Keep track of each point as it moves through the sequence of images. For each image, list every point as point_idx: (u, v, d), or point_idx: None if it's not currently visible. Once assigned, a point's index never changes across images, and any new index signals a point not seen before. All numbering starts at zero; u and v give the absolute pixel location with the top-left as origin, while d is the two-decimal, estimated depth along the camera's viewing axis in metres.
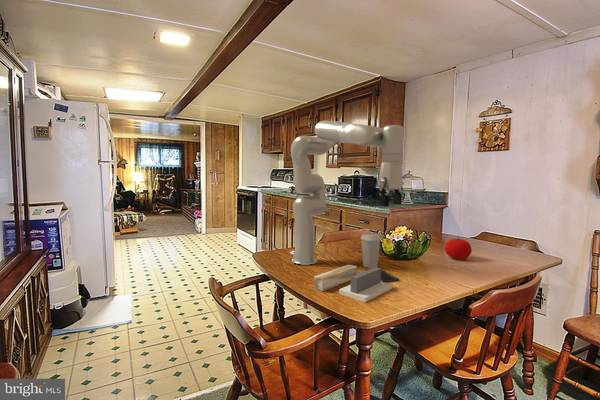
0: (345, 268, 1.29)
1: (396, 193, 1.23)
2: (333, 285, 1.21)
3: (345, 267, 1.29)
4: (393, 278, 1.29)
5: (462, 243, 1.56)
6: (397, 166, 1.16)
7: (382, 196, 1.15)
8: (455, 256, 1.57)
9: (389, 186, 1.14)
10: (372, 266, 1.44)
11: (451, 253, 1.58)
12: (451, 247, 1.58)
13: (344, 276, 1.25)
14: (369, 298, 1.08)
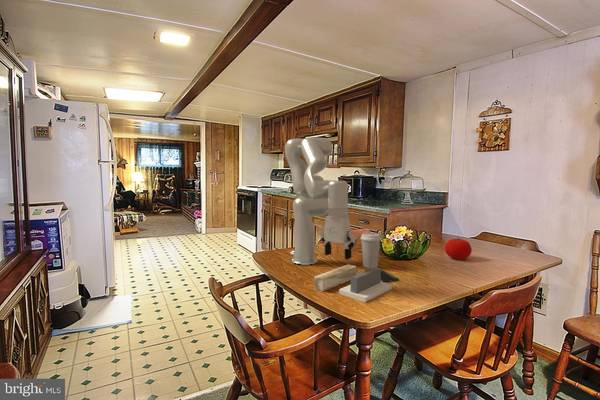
0: (344, 268, 1.29)
1: (328, 244, 1.26)
2: (333, 285, 1.21)
3: (345, 267, 1.29)
4: (393, 278, 1.29)
5: (462, 243, 1.56)
6: None
7: (349, 249, 1.19)
8: (455, 256, 1.57)
9: (350, 239, 1.21)
10: (372, 266, 1.44)
11: (451, 253, 1.58)
12: (451, 247, 1.58)
13: (344, 276, 1.25)
14: (369, 298, 1.08)
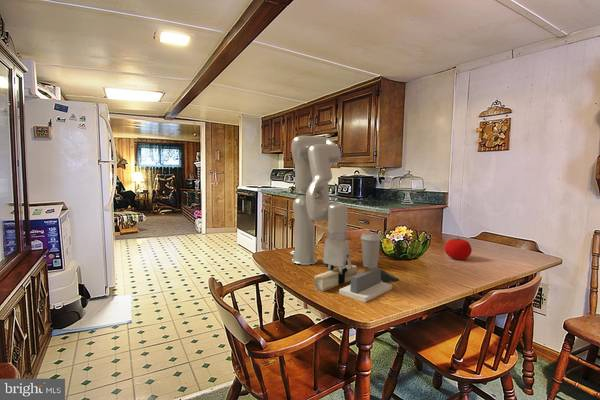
0: None
1: (332, 269, 1.26)
2: (333, 285, 1.20)
3: None
4: (393, 278, 1.29)
5: (462, 243, 1.56)
6: None
7: (343, 275, 1.22)
8: (455, 256, 1.57)
9: None
10: (372, 266, 1.44)
11: (451, 253, 1.58)
12: (451, 247, 1.58)
13: None
14: (369, 298, 1.08)
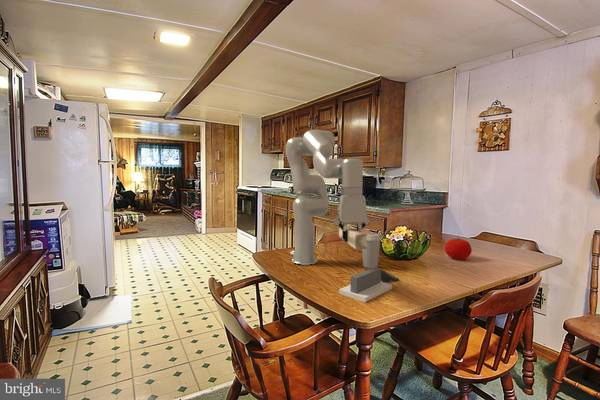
0: (347, 226, 1.25)
1: (346, 228, 1.18)
2: None
3: None
4: (393, 278, 1.29)
5: (462, 243, 1.56)
6: None
7: None
8: (455, 256, 1.57)
9: None
10: (372, 266, 1.44)
11: (451, 253, 1.58)
12: (451, 247, 1.58)
13: None
14: (369, 298, 1.08)
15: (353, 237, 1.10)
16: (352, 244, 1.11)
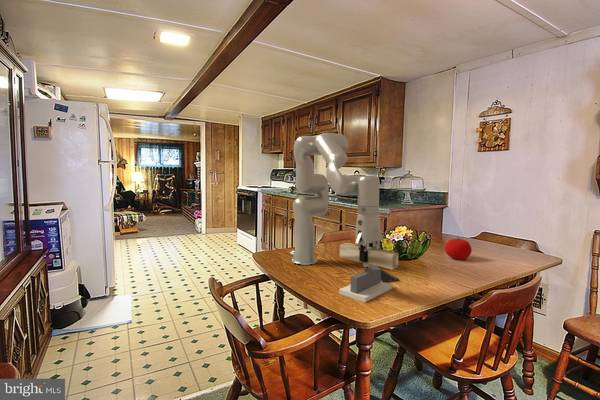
0: (354, 245, 1.19)
1: None
2: None
3: (353, 245, 1.19)
4: (393, 278, 1.29)
5: (462, 243, 1.56)
6: None
7: None
8: (455, 256, 1.57)
9: None
10: (372, 266, 1.44)
11: (451, 253, 1.58)
12: (451, 247, 1.58)
13: None
14: (369, 298, 1.08)
15: (386, 258, 1.08)
16: (383, 264, 1.09)
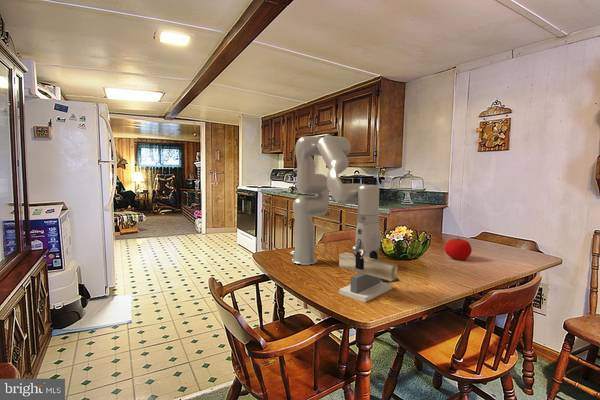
0: (353, 255, 1.20)
1: None
2: None
3: (352, 255, 1.20)
4: None
5: (462, 243, 1.56)
6: None
7: None
8: (455, 256, 1.57)
9: None
10: None
11: (451, 253, 1.58)
12: (451, 247, 1.58)
13: None
14: (369, 298, 1.08)
15: (385, 269, 1.08)
16: (382, 276, 1.09)
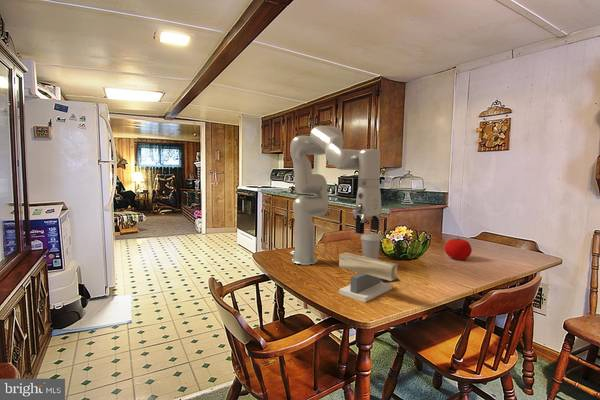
0: (353, 255, 1.20)
1: None
2: None
3: (352, 255, 1.20)
4: None
5: (462, 243, 1.56)
6: None
7: None
8: (455, 256, 1.57)
9: None
10: None
11: (451, 253, 1.58)
12: (451, 247, 1.58)
13: None
14: (369, 298, 1.08)
15: (385, 269, 1.08)
16: (382, 276, 1.09)
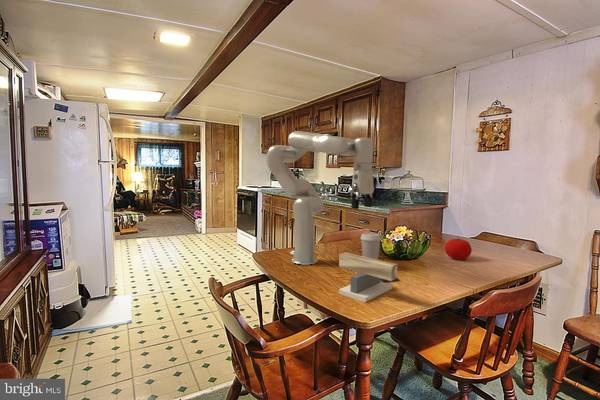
0: (353, 255, 1.20)
1: None
2: None
3: (352, 255, 1.20)
4: None
5: (462, 243, 1.56)
6: None
7: None
8: (455, 256, 1.57)
9: None
10: None
11: (451, 253, 1.58)
12: (451, 247, 1.58)
13: None
14: (369, 298, 1.08)
15: (385, 269, 1.08)
16: (382, 276, 1.09)
